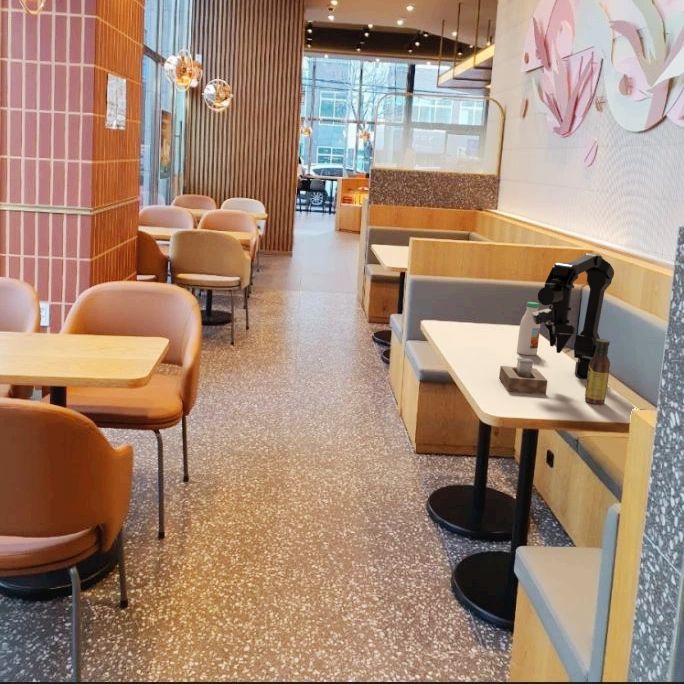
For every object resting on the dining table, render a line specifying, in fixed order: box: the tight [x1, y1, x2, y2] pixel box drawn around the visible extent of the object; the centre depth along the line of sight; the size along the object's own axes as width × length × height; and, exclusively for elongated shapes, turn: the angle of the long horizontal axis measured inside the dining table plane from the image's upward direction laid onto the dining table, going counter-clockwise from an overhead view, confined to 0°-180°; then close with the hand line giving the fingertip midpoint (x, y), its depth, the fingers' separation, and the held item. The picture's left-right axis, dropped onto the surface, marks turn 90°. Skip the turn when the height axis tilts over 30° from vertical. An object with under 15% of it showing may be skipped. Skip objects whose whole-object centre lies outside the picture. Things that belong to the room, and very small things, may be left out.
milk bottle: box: [516, 301, 541, 356], centre depth 324 cm, size 8×8×20 cm
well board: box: [498, 365, 549, 395], centre depth 273 cm, size 12×16×4 cm
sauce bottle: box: [584, 338, 611, 405], centre depth 259 cm, size 6×6×20 cm
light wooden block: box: [516, 357, 534, 378], centre depth 273 cm, size 4×4×9 cm
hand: (555, 349), depth 274 cm, fingers open, 9 cm apart
